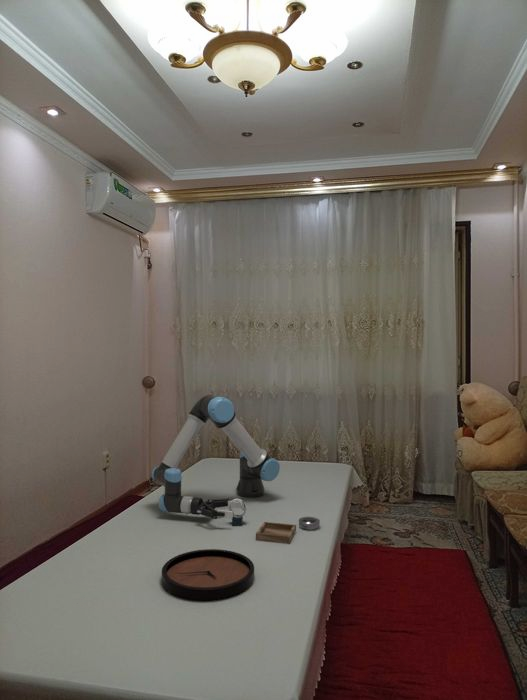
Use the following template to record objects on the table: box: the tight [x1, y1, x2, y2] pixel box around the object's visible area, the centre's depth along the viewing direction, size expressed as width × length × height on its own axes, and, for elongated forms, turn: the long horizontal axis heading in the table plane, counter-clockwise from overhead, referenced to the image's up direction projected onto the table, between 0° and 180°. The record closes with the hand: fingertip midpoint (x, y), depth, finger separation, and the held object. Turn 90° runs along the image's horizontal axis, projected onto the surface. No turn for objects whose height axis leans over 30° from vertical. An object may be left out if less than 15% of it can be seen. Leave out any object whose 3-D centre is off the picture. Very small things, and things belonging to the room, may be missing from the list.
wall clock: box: [161, 548, 255, 602], centre depth 176 cm, size 31×4×31 cm
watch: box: [228, 498, 247, 527], centre depth 228 cm, size 6×8×11 cm
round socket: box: [298, 516, 320, 532], centre depth 225 cm, size 9×9×3 cm
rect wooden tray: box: [255, 521, 297, 545], centre depth 215 cm, size 14×14×3 cm
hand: (237, 509), depth 228 cm, fingers open, 13 cm apart
